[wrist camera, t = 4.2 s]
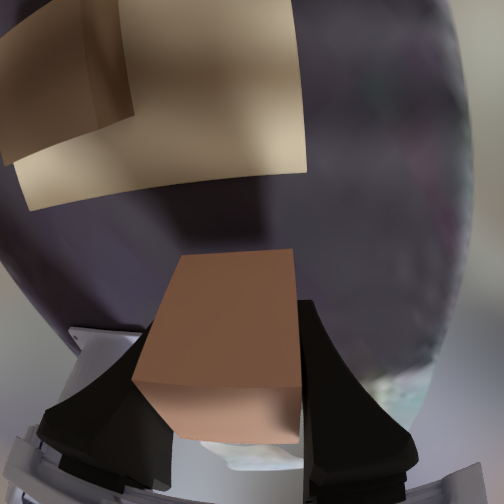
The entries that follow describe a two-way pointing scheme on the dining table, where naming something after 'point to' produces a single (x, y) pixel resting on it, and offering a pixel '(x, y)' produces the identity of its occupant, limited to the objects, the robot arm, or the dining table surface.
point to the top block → (227, 349)
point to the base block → (61, 76)
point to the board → (187, 104)
